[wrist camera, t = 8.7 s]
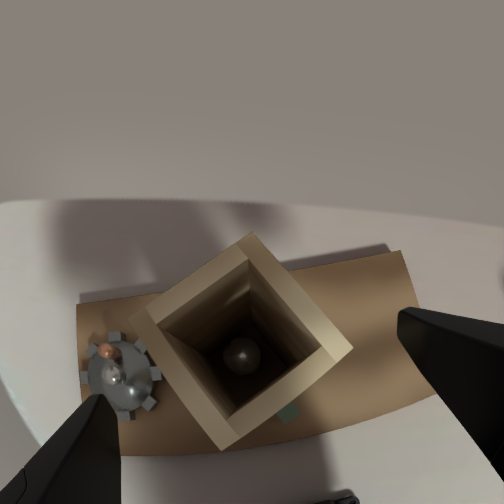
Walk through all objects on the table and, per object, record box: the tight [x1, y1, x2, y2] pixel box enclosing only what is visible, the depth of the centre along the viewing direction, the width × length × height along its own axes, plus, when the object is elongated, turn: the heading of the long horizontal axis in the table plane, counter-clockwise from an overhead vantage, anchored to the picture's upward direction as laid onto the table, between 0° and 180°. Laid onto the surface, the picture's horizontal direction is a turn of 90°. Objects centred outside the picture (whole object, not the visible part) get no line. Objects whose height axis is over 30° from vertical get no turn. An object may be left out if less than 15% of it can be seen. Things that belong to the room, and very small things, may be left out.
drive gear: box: [80, 331, 166, 421], centre depth 17 cm, size 6×6×3 cm
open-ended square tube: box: [128, 232, 353, 451], centre depth 14 cm, size 9×9×11 cm
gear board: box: [76, 250, 437, 456], centre depth 20 cm, size 11×25×1 cm, turn 100°
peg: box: [223, 337, 261, 377], centre depth 17 cm, size 2×2×5 cm
